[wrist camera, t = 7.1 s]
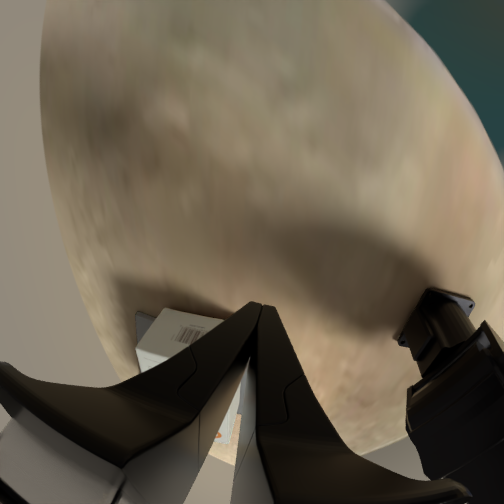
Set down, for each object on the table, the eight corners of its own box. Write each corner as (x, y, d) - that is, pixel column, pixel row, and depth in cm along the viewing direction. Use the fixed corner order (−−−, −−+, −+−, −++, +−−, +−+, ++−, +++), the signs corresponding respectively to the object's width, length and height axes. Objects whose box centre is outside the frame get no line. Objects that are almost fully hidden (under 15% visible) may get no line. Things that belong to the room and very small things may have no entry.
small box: (164, 304, 26) (176, 388, 31) (132, 347, 20) (157, 427, 26) (247, 321, 25) (240, 403, 30) (231, 372, 19) (228, 446, 25)
